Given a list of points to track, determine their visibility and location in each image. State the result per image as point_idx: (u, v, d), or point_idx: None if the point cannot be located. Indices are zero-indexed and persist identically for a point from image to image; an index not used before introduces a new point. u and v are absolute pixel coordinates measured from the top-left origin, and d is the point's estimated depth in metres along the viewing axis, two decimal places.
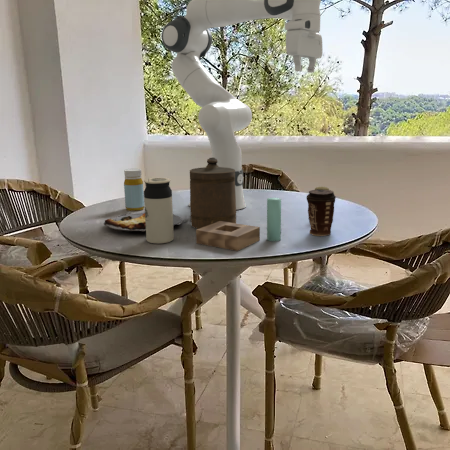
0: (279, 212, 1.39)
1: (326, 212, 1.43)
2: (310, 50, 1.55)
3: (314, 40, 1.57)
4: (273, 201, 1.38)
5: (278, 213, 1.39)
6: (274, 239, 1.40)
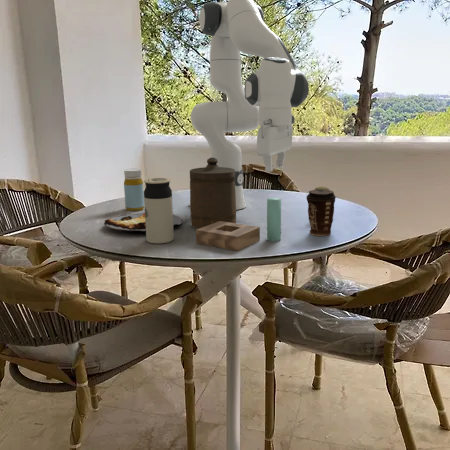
0: (279, 212, 1.39)
1: (326, 212, 1.43)
2: None
3: None
4: (273, 201, 1.38)
5: (278, 213, 1.39)
6: (274, 239, 1.40)
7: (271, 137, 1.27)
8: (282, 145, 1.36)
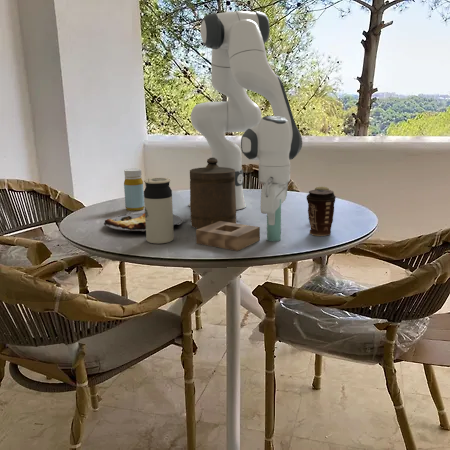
0: (279, 212, 1.39)
1: (326, 212, 1.43)
2: None
3: None
4: None
5: (278, 213, 1.39)
6: (274, 239, 1.40)
7: (275, 195, 1.31)
8: (281, 199, 1.40)
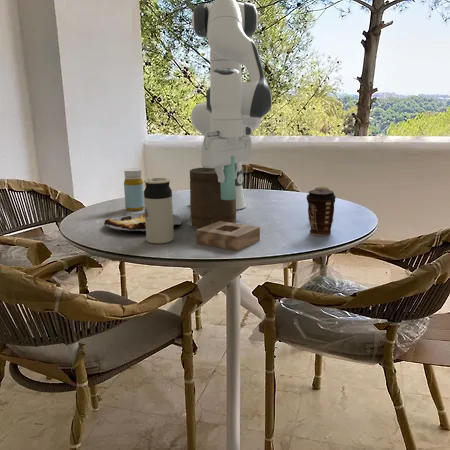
0: (231, 170, 1.34)
1: (326, 212, 1.43)
2: None
3: None
4: None
5: (229, 170, 1.33)
6: (225, 198, 1.35)
7: (216, 149, 1.27)
8: (235, 156, 1.35)
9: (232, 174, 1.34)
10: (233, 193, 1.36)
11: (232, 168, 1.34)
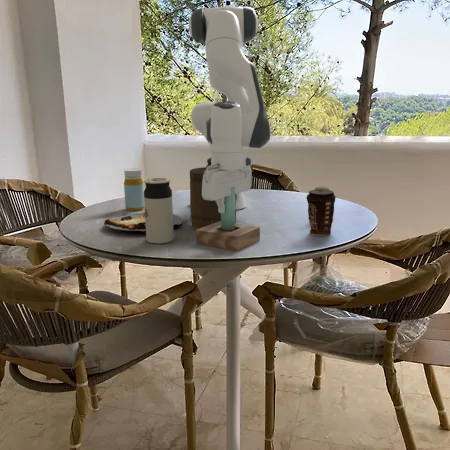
0: (231, 200, 1.36)
1: (326, 212, 1.43)
2: None
3: None
4: None
5: (229, 201, 1.36)
6: (226, 228, 1.37)
7: (216, 182, 1.29)
8: (235, 187, 1.37)
9: (232, 205, 1.36)
10: (233, 223, 1.38)
11: (232, 199, 1.36)
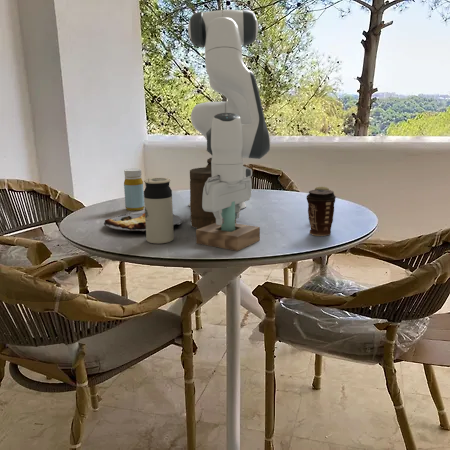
0: (231, 214, 1.37)
1: (326, 212, 1.43)
2: None
3: None
4: None
5: (229, 215, 1.37)
6: None
7: (216, 193, 1.29)
8: (235, 198, 1.38)
9: (232, 219, 1.38)
10: None
11: (232, 213, 1.37)
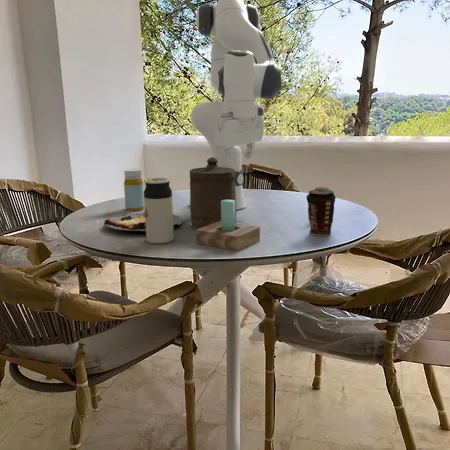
0: (231, 214, 1.37)
1: (326, 212, 1.43)
2: None
3: None
4: (224, 203, 1.36)
5: (229, 215, 1.37)
6: None
7: (229, 129, 1.30)
8: (247, 137, 1.38)
9: (233, 219, 1.38)
10: None
11: (233, 213, 1.37)
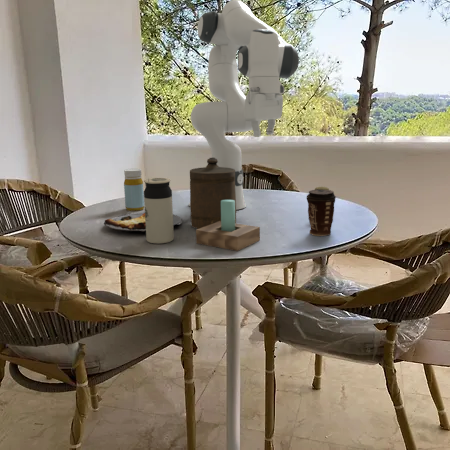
0: (231, 214, 1.37)
1: (326, 212, 1.43)
2: None
3: None
4: (224, 203, 1.36)
5: (229, 215, 1.37)
6: None
7: (258, 103, 1.36)
8: (271, 113, 1.45)
9: (232, 219, 1.38)
10: None
11: (232, 213, 1.37)
